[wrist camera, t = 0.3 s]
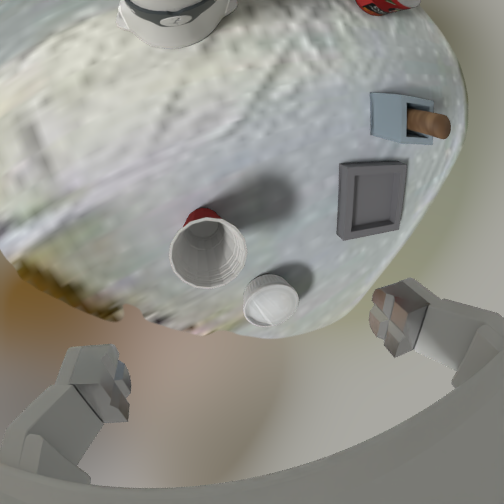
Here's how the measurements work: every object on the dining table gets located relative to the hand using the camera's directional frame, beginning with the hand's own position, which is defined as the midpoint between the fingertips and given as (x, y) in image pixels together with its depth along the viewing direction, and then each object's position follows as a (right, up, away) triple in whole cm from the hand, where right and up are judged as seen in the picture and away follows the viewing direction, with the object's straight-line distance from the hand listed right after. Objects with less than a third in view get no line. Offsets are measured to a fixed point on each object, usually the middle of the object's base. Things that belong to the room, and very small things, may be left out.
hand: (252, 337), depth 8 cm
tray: (+24, +14, +44) cm, 52 cm away
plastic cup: (-9, +8, +40) cm, 41 cm away
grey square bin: (+26, +29, +36) cm, 53 cm away
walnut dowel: (+26, +28, +35) cm, 52 cm away
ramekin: (+3, -6, +51) cm, 51 cm away
